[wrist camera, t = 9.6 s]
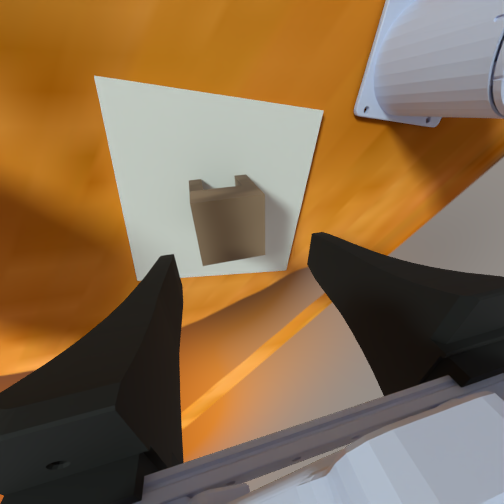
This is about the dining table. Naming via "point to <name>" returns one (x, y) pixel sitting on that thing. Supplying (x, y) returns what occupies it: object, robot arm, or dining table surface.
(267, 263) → the grey mat
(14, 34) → the dining table surface
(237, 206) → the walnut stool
